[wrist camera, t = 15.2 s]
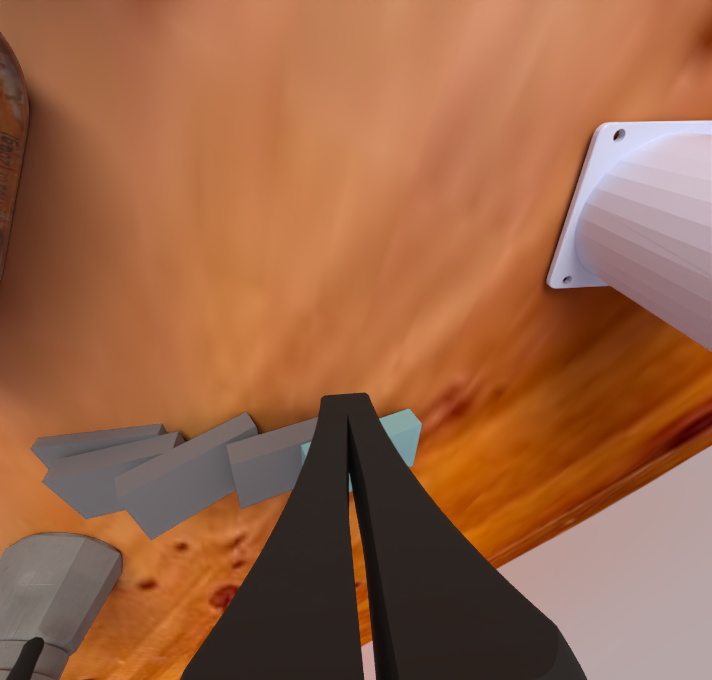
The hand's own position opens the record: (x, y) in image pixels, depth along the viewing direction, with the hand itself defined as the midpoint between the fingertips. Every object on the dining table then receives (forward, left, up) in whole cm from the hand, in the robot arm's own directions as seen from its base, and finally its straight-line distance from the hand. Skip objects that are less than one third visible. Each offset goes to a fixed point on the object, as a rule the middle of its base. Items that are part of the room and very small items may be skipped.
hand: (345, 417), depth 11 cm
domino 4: (-1, +12, -9) cm, 15 cm away
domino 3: (+6, +12, -9) cm, 16 cm away
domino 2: (+10, +12, -8) cm, 18 cm away
